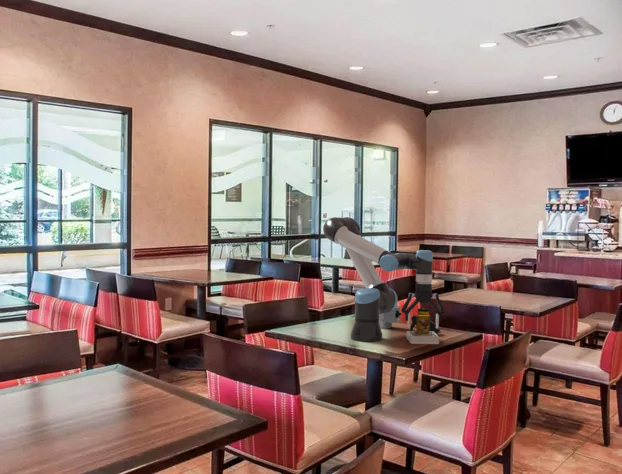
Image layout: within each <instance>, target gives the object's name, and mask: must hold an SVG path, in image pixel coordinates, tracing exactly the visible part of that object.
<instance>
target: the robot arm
mask: <svg viewBox="0 0 622 474" xmlns="http://www.w3.org/2000/svg"><path fill="white" fill-rule="evenodd" d="M322 227H323V228H322V229H323V234H324V236H325V237H326V238H327V239H328V240H329V241H331V242H332V243H334V244H337V245H340V247H341V248H344V249H345V250H346V253H347V254H348V255H349V258H350V260H351V262H352V264H353V266H354V268H355V269H356V272H357V273H358V276H359V277H360V279H361V281H362V283H363V285H364V287H365V288H361V289H358V290H356V292H355V297H354V323H353V325H352V329H351V332H350V339H352V340H354V341H360V342H377V341H382V340H383V332H382V328H380V324H379V314H382V313H388V312H390V311H392V310H393V309H395V307H396V306H398V295H397V292H396V291H395V290H394V289H392V288H389V285H388V284H387V282H386V281H383V280H382V279H381V277H380V275H379V273H378V272H377V270H376V268H375V266H374V264H373V262H374V263H375V264H377V265H379V266H380V268H381V269H382V270H383V271H385V272H394V271H400V270H414V271H415V282H416V283H415V292H414V293H413V292H409V293H408V297H407V298H406V301H405V303H404V304H403V306H402V308H401V309H400V312H401V313H404V320H405V322H406V327H407V329H410V326H411V324H410V323H411V314H410V313H411V311H412V310H413V309H414V308H415V307H416V305H418V304H419V303H420V304H423V303H424V304H428V303H429V304H430V306H431V307H432V308H433V309H434V310H435V312H436V313H435V325H436V328H437V329H438V328H439V323H440V322H441V321H442V315H443V314H445V313H446V311H445V308H444V307H443V305H442V302H441V300H440V296H439V293H437V292H435V293H433V284H432V282H433V264H434V263H433V261H434V259H433V256H434V255H433V251H431V250H429V249H427V250H424V249H420V250H419V249H418V250H417V251H416V253H406V252H405V253H404V252H397V253H392V252H390V251H389V250H387V249H384V248H383V247H381V246H379V245H377V244H375V243H374V242H372V241H369V240H368V239H366V238H364V237H362V234H361V230H362V229H361V225H360V223H359V222H358V221H357V219H355V218H354V217H348V216H346V217H335V216H334V217H330V218H328V219H327V220H326V221H325V223H323V226H322ZM414 297H415V299H414V300H413V302H412V303H411V301H412V299H413V298H414ZM433 298H434V299H435V301H436V304H437V306H438V307H437V306H436V305H435V303H433V301H432V300H431V299H433ZM438 308H439V309H438Z"/></svg>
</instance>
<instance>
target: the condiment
mask: <svg viewBox="0 0 622 474" xmlns="http://www.w3.org/2000/svg"><path fill="white" fill-rule="evenodd" d="M416 316H417V326H416V325H415V327H417V328H415V329H416V330H415V331H416V332H412V334H417V335H422V336H426V335H430V334H433V333H429V331H430V330H429V329H430V321H431V320H430V319H431V318H430V317H431V315H430V309H429V308H425V307H420V308H418V309H417V314H416Z"/></svg>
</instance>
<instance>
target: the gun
mask: <svg viewBox="0 0 622 474" xmlns="http://www.w3.org/2000/svg"><path fill="white" fill-rule="evenodd" d="M410 320H411V321H412V322H411V324H410V328H409V331H414V328H415V329H416V328H417V327H416V326H417V315H414V314H413V315H412V316H411V317H410ZM429 330H430V331H434V332H435V333H436V334H437V335H438V336H439V334H441V333H442V330H440V328H439V327H438V329H437V328H436V322H433V321H431V320H430V329H429Z"/></svg>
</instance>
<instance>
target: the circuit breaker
mask: <svg viewBox="0 0 622 474" xmlns="http://www.w3.org/2000/svg"><path fill="white" fill-rule="evenodd" d="M401 316H402V312H401V306H398V305H396V307H395V309H393V310H392V311H390V312H388V313H382V314H379V324H380V328H381V330H382V329H384V330H387V329H389V328H391V327H393V323H397V322H400V321H401Z"/></svg>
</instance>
